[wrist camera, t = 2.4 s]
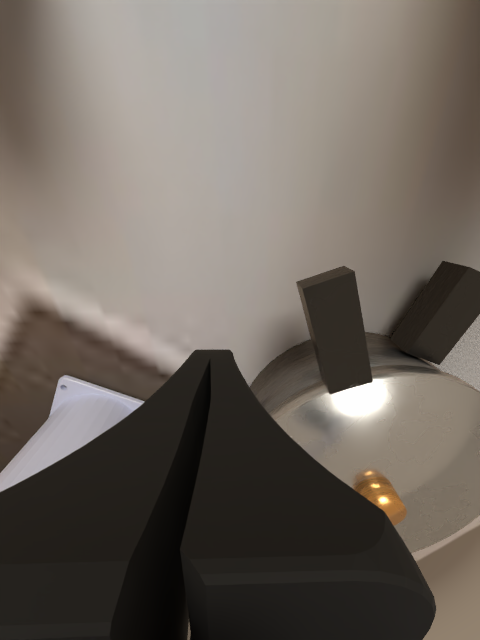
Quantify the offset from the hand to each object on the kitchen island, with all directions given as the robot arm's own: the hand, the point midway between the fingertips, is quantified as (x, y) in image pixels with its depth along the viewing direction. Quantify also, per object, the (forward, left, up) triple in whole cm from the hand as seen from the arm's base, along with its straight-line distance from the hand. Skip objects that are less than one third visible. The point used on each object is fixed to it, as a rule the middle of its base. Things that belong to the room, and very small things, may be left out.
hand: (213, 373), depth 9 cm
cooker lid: (-4, -12, -4) cm, 14 cm away
